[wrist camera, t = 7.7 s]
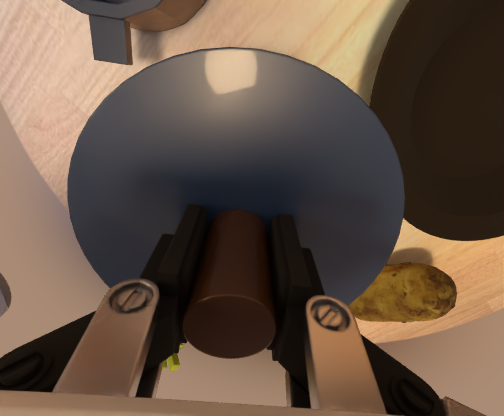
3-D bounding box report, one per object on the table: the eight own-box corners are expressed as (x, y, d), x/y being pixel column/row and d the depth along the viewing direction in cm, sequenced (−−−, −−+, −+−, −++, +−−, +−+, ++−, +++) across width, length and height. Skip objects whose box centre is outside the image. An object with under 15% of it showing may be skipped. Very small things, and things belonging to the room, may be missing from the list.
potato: (333, 265, 38) (352, 310, 31) (427, 240, 36) (469, 282, 29) (344, 303, 42) (362, 351, 35) (430, 283, 40) (467, 330, 33)
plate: (567, 185, 32) (624, 206, 28) (367, 236, 36) (386, 263, 31) (648, -145, 20) (779, -213, 15) (329, -15, 23) (349, -36, 19)
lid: (106, 311, 15) (33, 434, 10) (50, 20, 9) (-228, -41, 4) (341, 330, 16) (382, 454, 11) (449, 78, 9) (672, 94, 4)
